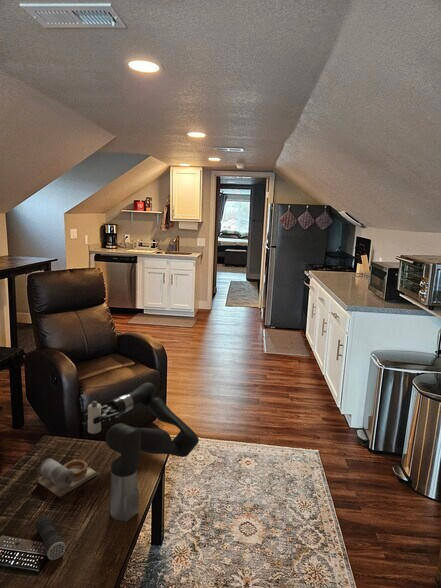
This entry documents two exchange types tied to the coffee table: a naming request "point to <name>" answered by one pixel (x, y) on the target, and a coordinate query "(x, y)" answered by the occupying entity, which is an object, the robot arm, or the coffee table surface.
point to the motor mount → (64, 475)
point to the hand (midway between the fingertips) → (89, 419)
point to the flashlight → (50, 538)
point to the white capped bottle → (94, 412)
